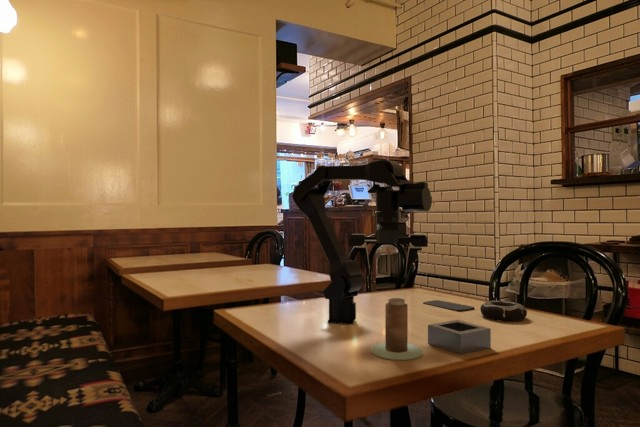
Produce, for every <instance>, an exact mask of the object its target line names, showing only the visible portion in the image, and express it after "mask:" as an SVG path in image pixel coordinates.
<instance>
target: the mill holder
mask: <svg viewBox="0 0 640 427" xmlns="http://www.w3.org/2000/svg"><path fill="white" fill-rule="evenodd" d="M491 330H492V329H491V328H490V327H486V326H482V325H479V324H474V323H472V322H471V323H470V322H466V321H463V320H460V319H454V320H448V321H441V322H436V323H430V324H427V344H429V345H431V346H432V345H433V346H435V347H438V348H440V349H444V350H446V351H449V352H452V353H455V354H458V355H465V354H469V353H473V352H474V353H475V352H478V351H482V350H487V349H490V348H491V343H492V342H491V341H492V340H491V338H492V337H491V333H492V332H491Z"/></svg>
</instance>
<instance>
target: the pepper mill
mask: <svg viewBox="0 0 640 427" xmlns="http://www.w3.org/2000/svg"><path fill="white" fill-rule="evenodd" d="M405 301H406V300H405V299H404V298H397V297H392V298H388V302H387V303H385V311H384V312H385V322H384V323H385V330H384V332H385V341H384V342H385V349H386V350H387V351H390V352H397V353H400V352H406V351H407V350H408V344H409V342H408V339H409V338H408V337H409V336H408V334H409V332H408V327H409V326H408V325H409V323H408V317H409V316H408V314H409V313H408V304H407V303H405Z"/></svg>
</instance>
